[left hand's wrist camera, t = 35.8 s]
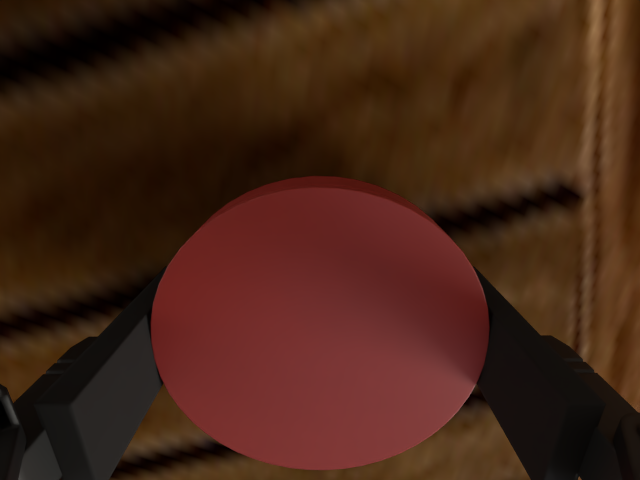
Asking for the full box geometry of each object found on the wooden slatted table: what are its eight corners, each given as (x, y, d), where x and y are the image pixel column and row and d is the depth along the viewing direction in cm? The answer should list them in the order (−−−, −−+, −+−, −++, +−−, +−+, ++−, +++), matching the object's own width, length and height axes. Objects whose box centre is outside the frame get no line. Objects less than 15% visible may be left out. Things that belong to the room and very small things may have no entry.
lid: (375, 104, 10) (386, 104, 8) (514, 358, 13) (540, 392, 11) (107, 282, 12) (75, 309, 10) (283, 465, 15) (279, 507, 13)
